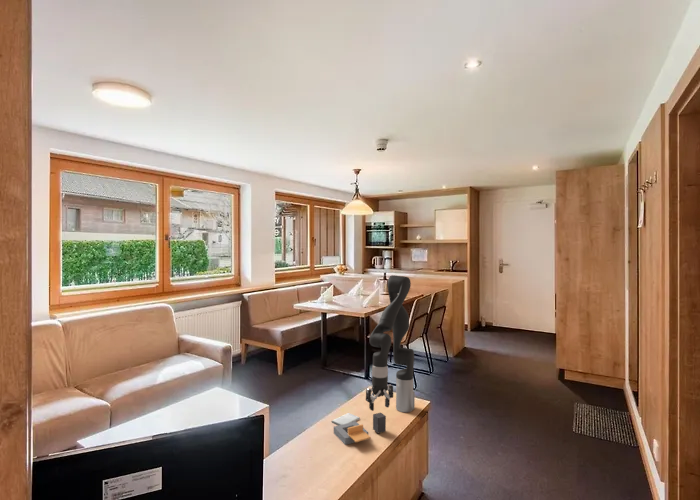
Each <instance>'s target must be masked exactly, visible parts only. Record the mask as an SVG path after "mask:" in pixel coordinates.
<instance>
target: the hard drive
mask: <svg viewBox="0 0 700 500" xmlns="http://www.w3.org/2000/svg"><path fill="white" fill-rule="evenodd" d="M359 420H361V419H360V417H359V416H357V415H356V414H355V415H354V414H353V413H350V412H347V413H345V414H343V415H341V416H339V417H337V418H334V419H333V420H332V419H331V424H334V425H335V426H339V425H343V424H347V423H351V422H355V421H356V422H357V421H359Z"/></svg>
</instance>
